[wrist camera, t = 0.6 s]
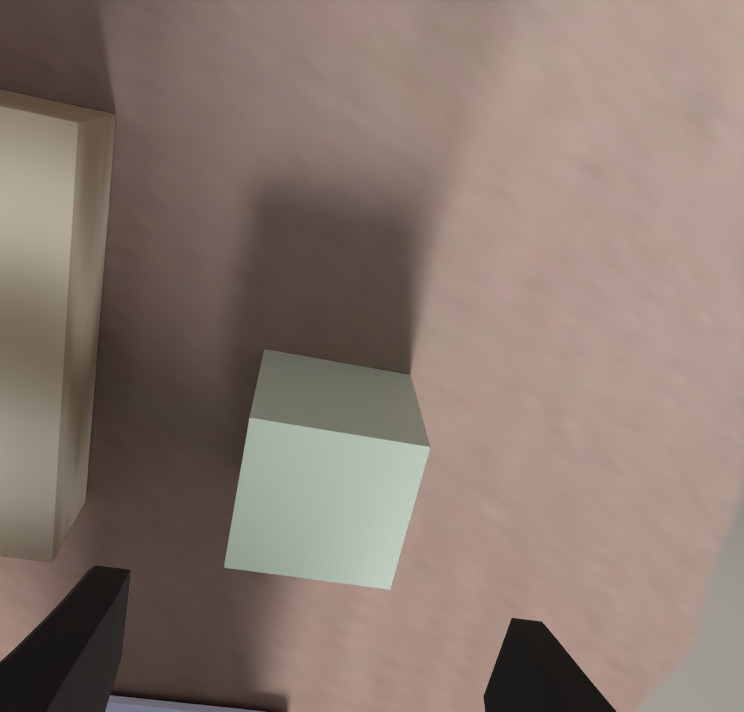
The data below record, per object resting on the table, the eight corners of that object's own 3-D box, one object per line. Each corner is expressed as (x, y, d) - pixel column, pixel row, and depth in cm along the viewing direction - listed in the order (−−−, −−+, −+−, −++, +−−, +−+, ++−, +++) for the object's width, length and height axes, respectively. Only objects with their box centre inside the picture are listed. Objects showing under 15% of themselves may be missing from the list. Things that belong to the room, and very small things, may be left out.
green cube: (378, 495, 23) (390, 589, 19) (242, 475, 22) (223, 567, 18) (410, 373, 21) (430, 446, 17) (264, 347, 21) (249, 417, 17)
